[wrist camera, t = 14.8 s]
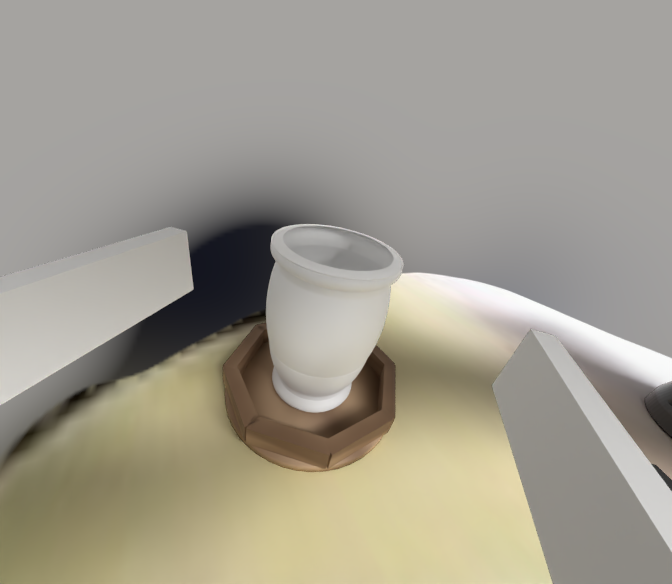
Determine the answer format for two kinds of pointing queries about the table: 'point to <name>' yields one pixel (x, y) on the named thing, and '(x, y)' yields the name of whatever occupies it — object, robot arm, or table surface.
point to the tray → (306, 427)
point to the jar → (325, 310)
